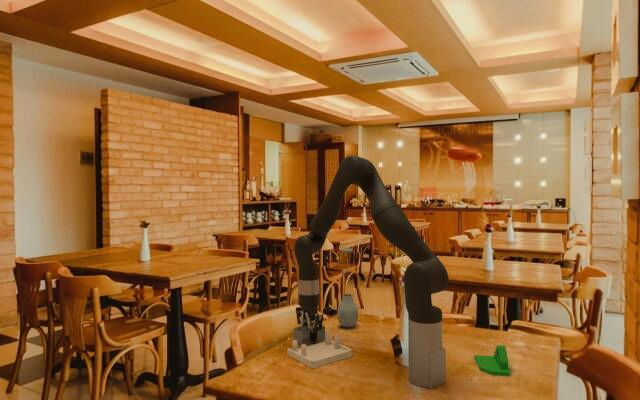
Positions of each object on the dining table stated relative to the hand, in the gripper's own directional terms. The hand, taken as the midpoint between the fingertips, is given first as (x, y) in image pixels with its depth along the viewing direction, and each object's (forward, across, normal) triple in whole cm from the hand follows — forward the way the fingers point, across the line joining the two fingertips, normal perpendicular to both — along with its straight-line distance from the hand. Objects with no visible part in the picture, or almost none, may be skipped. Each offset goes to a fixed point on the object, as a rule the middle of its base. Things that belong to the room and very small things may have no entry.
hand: (309, 339), depth 158 cm
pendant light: (+1, +4, -21) cm, 21 cm away
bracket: (+1, -52, -30) cm, 60 cm away
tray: (+1, -13, +5) cm, 14 cm away
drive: (+1, 0, 0) cm, 1 cm away
